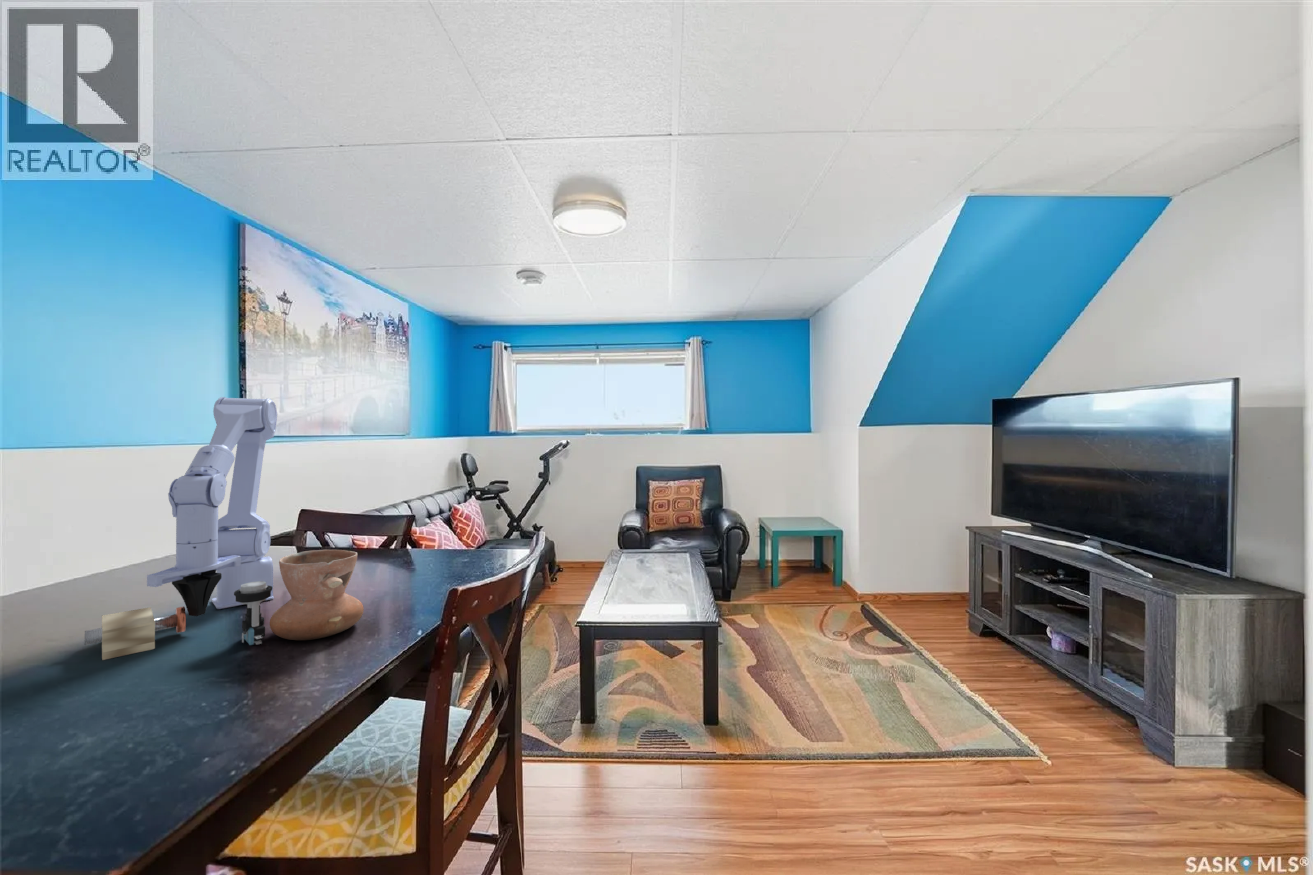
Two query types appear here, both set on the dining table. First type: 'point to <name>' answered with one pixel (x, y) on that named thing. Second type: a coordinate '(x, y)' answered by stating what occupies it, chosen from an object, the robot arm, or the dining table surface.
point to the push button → (253, 610)
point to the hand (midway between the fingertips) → (196, 614)
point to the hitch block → (127, 633)
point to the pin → (160, 623)
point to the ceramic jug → (316, 595)
